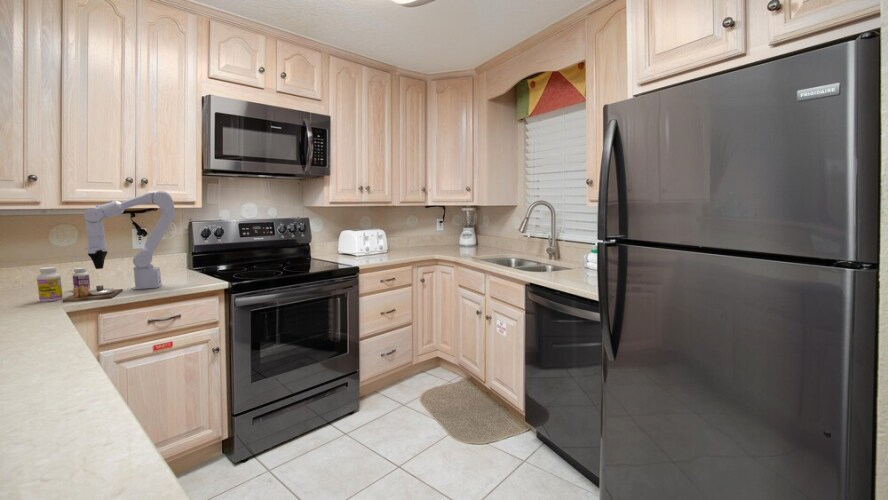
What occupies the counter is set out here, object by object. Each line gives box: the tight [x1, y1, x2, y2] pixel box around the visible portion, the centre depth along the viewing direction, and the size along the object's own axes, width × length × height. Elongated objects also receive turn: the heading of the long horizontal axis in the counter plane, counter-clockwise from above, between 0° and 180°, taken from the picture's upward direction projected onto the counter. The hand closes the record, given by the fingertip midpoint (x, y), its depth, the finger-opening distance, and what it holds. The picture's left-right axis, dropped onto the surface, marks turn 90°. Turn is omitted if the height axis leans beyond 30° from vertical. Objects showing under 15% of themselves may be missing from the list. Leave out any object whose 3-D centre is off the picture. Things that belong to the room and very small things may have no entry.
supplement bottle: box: [36, 266, 64, 303], centre depth 159 cm, size 7×7×13 cm
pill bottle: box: [72, 267, 91, 290], centre depth 178 cm, size 5×5×10 cm
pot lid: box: [72, 284, 115, 297], centre depth 165 cm, size 12×9×3 cm
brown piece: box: [61, 286, 124, 303], centre depth 166 cm, size 15×15×6 cm
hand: (99, 268), depth 174 cm, fingers closed
